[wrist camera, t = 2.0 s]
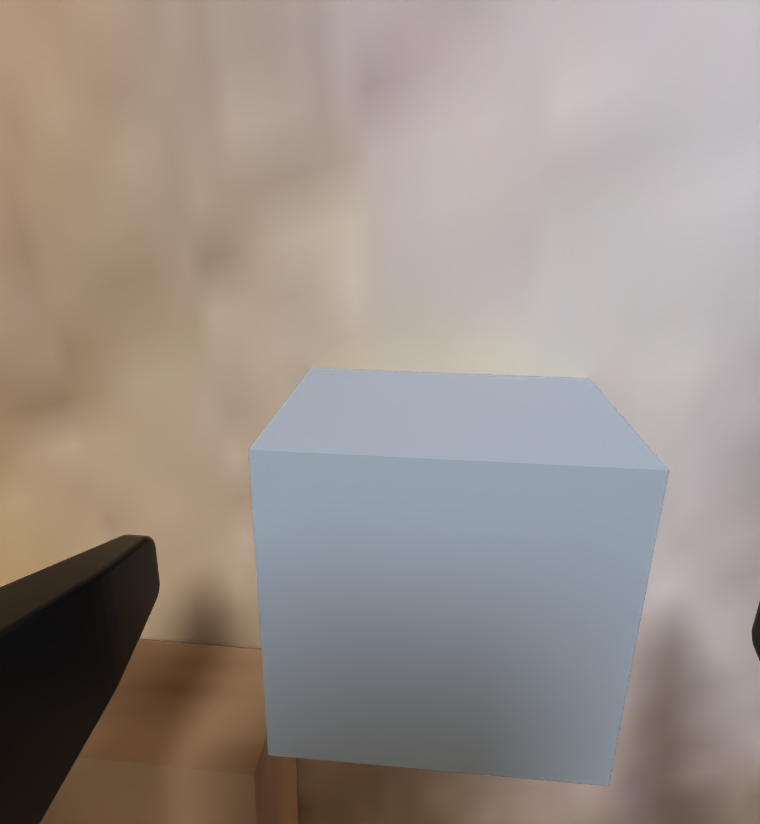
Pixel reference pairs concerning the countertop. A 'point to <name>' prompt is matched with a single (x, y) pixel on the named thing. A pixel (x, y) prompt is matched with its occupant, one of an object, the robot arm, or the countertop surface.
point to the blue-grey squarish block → (451, 571)
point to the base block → (181, 745)
